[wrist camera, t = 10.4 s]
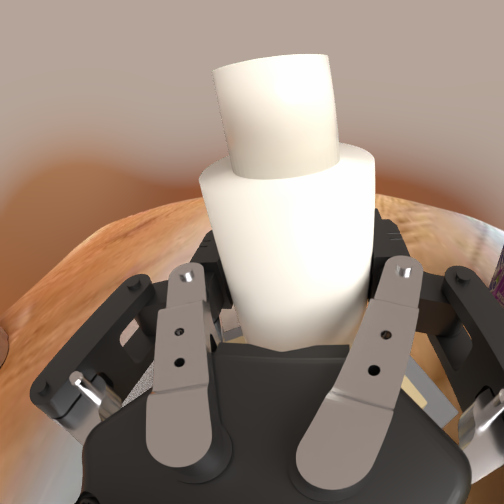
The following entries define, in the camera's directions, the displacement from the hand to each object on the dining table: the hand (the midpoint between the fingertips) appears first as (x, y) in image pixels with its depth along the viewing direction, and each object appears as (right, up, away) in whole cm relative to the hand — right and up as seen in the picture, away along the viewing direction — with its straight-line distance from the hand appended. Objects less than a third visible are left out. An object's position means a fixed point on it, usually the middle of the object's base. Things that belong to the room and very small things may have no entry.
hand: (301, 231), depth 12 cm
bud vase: (+1, -8, +2) cm, 9 cm away
